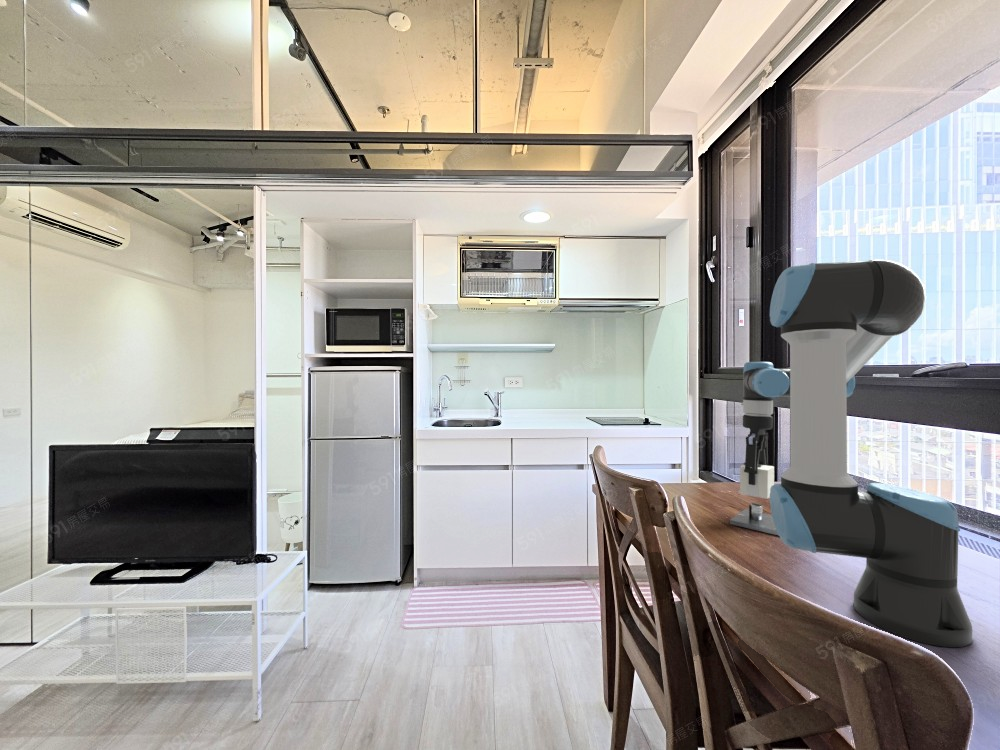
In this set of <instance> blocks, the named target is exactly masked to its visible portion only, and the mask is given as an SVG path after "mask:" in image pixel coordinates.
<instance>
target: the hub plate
mask: <svg viewBox="0 0 1000 750" xmlns="http://www.w3.org/2000/svg"><path fill="white" fill-rule="evenodd" d="M729 524H730V525H733V526H737V527H742V528H746V529H750V530H754V531H759V532H762V533H766V534H769V535H770V534H771V535H774V536H779V534H778V532H777V529H776V527H775V524H774V520H773V516H772V514H771V513H766V512H765V513H764V512H763V504H761V503H756V502H751V503H750V504H749V505H748V509H747V508H745V509H743V510H741V511H740V512H739V513H737V514H735V516H733V517H732V518H730V519H729ZM779 537H780V536H779Z"/></svg>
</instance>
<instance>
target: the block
mask: <svg viewBox="0 0 1000 750" xmlns="http://www.w3.org/2000/svg"><path fill="white" fill-rule="evenodd" d="M750 468H751V467H750ZM744 470H745V462H743V464H741V466H740V467H739V487H740V488H739V494H740V495H745V496H748V495H747V472H744ZM758 474H759V490H758V497H757V498H761V499H766V500H767V499H770V489H771V486H773V485H775V466H773V465H768V466H767V465H760V464H758Z"/></svg>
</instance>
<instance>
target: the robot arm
mask: <svg viewBox="0 0 1000 750" xmlns="http://www.w3.org/2000/svg"><path fill="white" fill-rule="evenodd" d="M926 299H927V294H926V290H925V286H924V283H923V282H922V280H921V279H920V277H919V276H918V274H917V273H915V272H914V271H913V270H912V269H910V268H909V267H907V266H905V265H903V264H902V263H899V262H895V261H893V260H886V259H885V260H884V259H872V260H861V261H840V262H822V263H821V262H820V263H815V262H811V263H808V264H803V265H802V264H801V265H793V266H789V267H787V268H786V269H784V270H783V271H782V272H781V273H780V275H779V276H778V277H777V281H776V283H775V285H774V288H773V292H772V295H771V299H770V306H769V323H770V324H771V326H773V327H776V328H780V337H781V339H783V340H784V341H786V342H787V343H788V344H789V368H775V367H774V364H773V362H770V361H747V362H745V363H744V364H743V372H742V377H743V378H742V382H743V386H742V387H743V389H742V392H743V394H742V402H741V403H740V404H741V406H742V413H743V415H742V427H743V428H745V429H749V434H747V436H745V462H744V463H745V470H744V472H747V495H746V496H751V497H755V498H759V497H758V490H759V474H758V464H760V465H767V466H769V453H768V452H769V450H768V449H769V448H768V447H769V445H768V444H769V442H768V440H769V432H766V430H772V429H773V426H774V425H773V424H774V423H773V422H774V417H773V416H772V415H773V414H774V398H777V397H779V398H780V397H783V398H785V397H787V398H789V403H790V404H789V411H790V412H789V413H790V414H789V415H790V416H789V418H790V419H789V425H790V426H789V427H790V428H789V429H790V430H789V439H790V440H789V442H790V443H789V444H790V445H789V447H790V449H789V452H790V454H789V455H790V456H789V457H790V458H789V459H790V460H789V461H790V462H789V463H790V464H789V465H790V466H789V467H788V468H787V469H786V470H785V471H783V472H782V473H781V475H780V483H776V484H774V485H773V486H771V489H770V497H769V506H770V511H771V515H772V516H773V520H774V524H775V527H776V529H777V532H778V534H779V539H780V540H781V541H782V542H783V543H784V544H785V545H786V546H787V547H789V548H791V549H793V550H794V549H795V550H800V551H805V552H810V553H813V554H816V553H821V554H827V555H828V554H829V555H836V556H838V555H839V556H847V557H855V558H863V559H866V562H865V563H866V564H865V569H864V570H863V573H862V575H861V577H860V579H859V582H858V583H857V586H856V587H855V590H854V591H853V602H852V603H853V608H854V609H855V611H856V612H857V613H858V614H859V615H860V616H861V617H862V618H864V619H865V620H867V621H868V622H870V623H872V624H873V625H875V626H877V627H878V628H881V629H882V630H885V631H887V632H890V633H892V634H894V635H897V636H900V637H902V638H905V639H909V640H912V641H916V642H919V643H923V644H928V645H931V646H932V645H933V646H937V647H938V646H939V647H943V648H944V647H946V648H947V647H948V648H963V647H966V646H969V645H971V644H972V642H973V625H972V622H971V619H970V617H969V615H968V612H967V610H966V607H965V605H964V602H963V600H962V597H961V594H960V592H959V590H958V575H959V574H958V571H959V570H958V568H959V567H958V566H959V565H958V563H959V532H960V531H961V528H960V523H959V517H958V516H959V515H958V514H959V513H958V509H957V508H956V506H955V505H954V504H953V503H952V502H950V501H949V500H947V499H945V498H943V497H940V496H937V495H935V494H931V493H928V492H924V491H920V490H917V489H914V488H909V487H903V486H899V485H896V484H895V485H894V484H888V483H882V482H869V483H868V484H867V486H866V487H865V490H866V491H861V490H860V491H859V482H857V481H856V480H855V478H853V477H852V476H851V475H850V474H849V473H848V430H847V429H848V424H847V423H848V422H847V421H848V420H847V418H848V417H847V415H848V414H847V406H848V405H847V398H849V397H851V396H852V395H853V393H854V389H855V387H856V378H855V375H856V374H857V373H858V372H859V371H860V370H861V369H862V368H863V367H864V366H865V365H866V364H867V363H868V362H869V361H870V360H871V359H872V358H873V357H874V356H875V355H876V354H877V353H878V352H879V351H880V349H882V348H883V347H884V346H885V345H886V344H887V343H888V341H890V340H891V339H892V338H893V337H894V336H899V335H901V334H903V333H904V334H905V332H907V331H908V330H909V329H910V328H911V327H912V326H913V325H914V324H915V323H917V320H918V319H919V318H920V316H921V315H922V313H923V312H924V309H925V305H926ZM750 467H751V468H750Z"/></svg>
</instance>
